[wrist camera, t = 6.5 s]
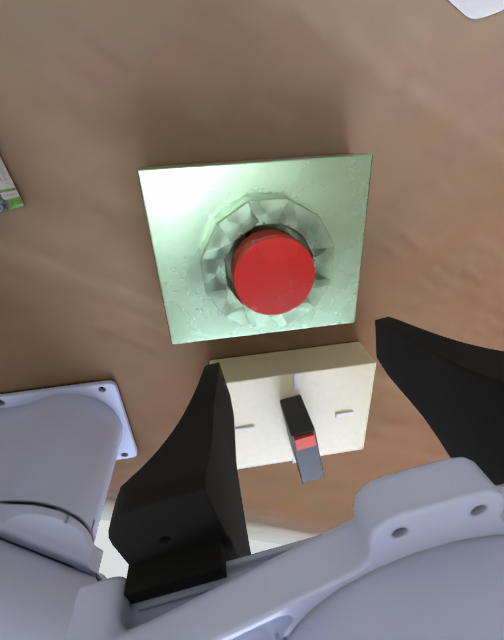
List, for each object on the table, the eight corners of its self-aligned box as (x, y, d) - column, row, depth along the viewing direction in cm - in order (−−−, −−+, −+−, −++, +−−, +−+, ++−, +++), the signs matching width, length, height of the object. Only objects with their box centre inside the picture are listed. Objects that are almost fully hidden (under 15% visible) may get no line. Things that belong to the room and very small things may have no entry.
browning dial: (310, 440, 26) (325, 480, 23) (290, 445, 26) (303, 486, 23) (300, 394, 24) (316, 432, 20) (279, 400, 24) (292, 439, 20)
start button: (233, 305, 18) (237, 320, 16) (227, 232, 16) (230, 241, 14) (304, 297, 18) (313, 311, 17) (306, 225, 16) (317, 233, 15)
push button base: (174, 322, 23) (169, 363, 19) (145, 166, 18) (128, 171, 14) (338, 304, 24) (368, 338, 20) (350, 153, 19) (394, 154, 15)
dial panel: (220, 443, 29) (222, 474, 26) (208, 358, 25) (210, 385, 22) (349, 423, 30) (364, 451, 27) (359, 339, 26) (378, 362, 23)
